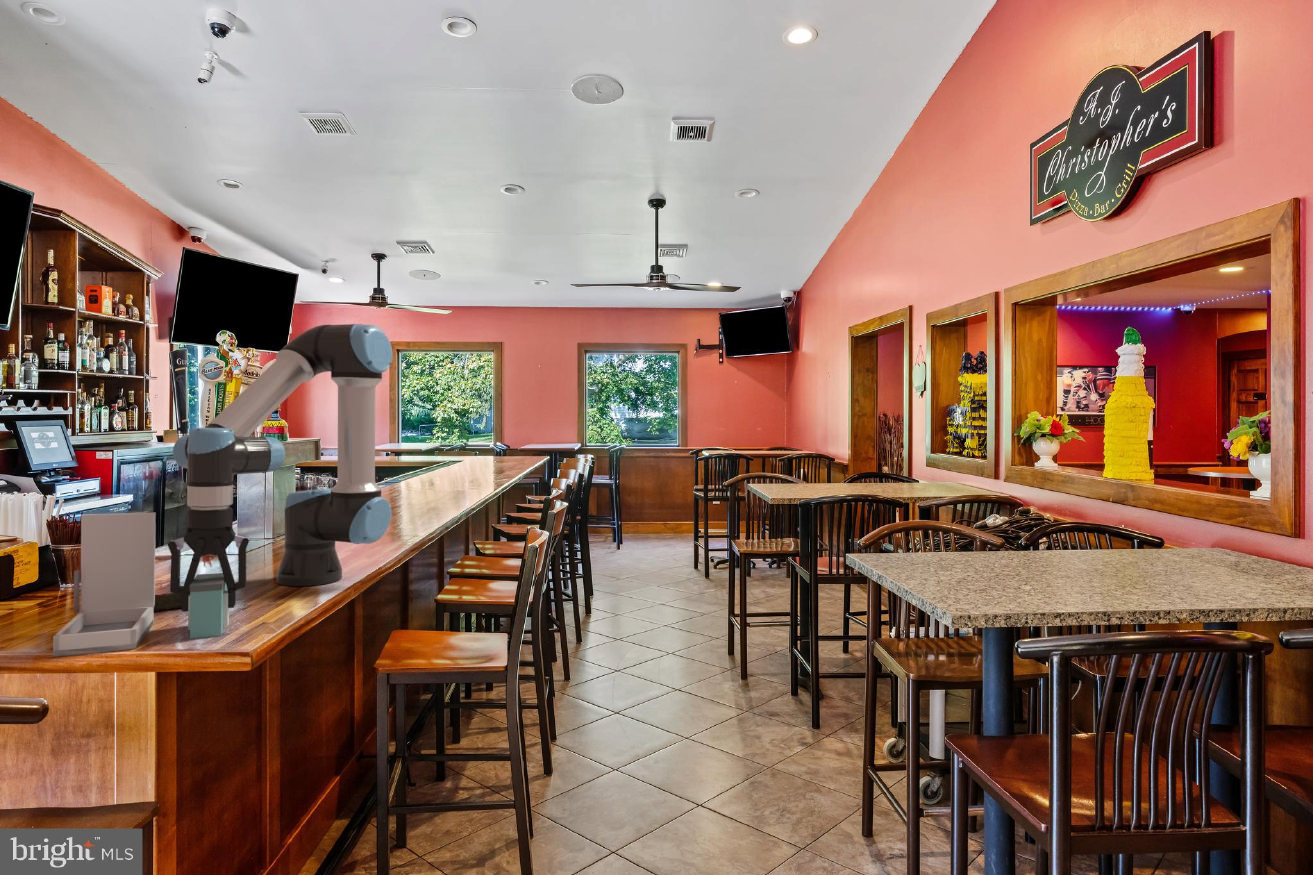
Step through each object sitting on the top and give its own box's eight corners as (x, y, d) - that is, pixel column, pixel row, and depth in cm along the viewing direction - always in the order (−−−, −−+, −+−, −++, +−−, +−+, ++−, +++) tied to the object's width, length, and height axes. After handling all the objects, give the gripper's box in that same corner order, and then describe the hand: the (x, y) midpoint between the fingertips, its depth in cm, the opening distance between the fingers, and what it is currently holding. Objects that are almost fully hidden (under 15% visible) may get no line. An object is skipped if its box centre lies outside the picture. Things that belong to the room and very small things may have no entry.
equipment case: (154, 622, 142) (155, 512, 142) (136, 648, 127) (137, 525, 126) (76, 628, 137) (76, 514, 136) (46, 657, 121) (47, 528, 121)
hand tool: (213, 602, 159) (213, 581, 159) (217, 606, 156) (217, 585, 156) (106, 616, 146) (106, 594, 146) (109, 621, 143) (109, 598, 143)
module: (226, 621, 144) (227, 572, 144) (221, 635, 135) (222, 583, 135) (196, 624, 142) (197, 574, 142) (189, 638, 133) (189, 585, 133)
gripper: (264, 503, 145) (262, 616, 146) (157, 506, 137) (156, 625, 138) (262, 508, 139) (260, 626, 139) (150, 511, 131) (148, 636, 131)
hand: (208, 625), depth 139 cm, fingers closed on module, 5 cm apart
